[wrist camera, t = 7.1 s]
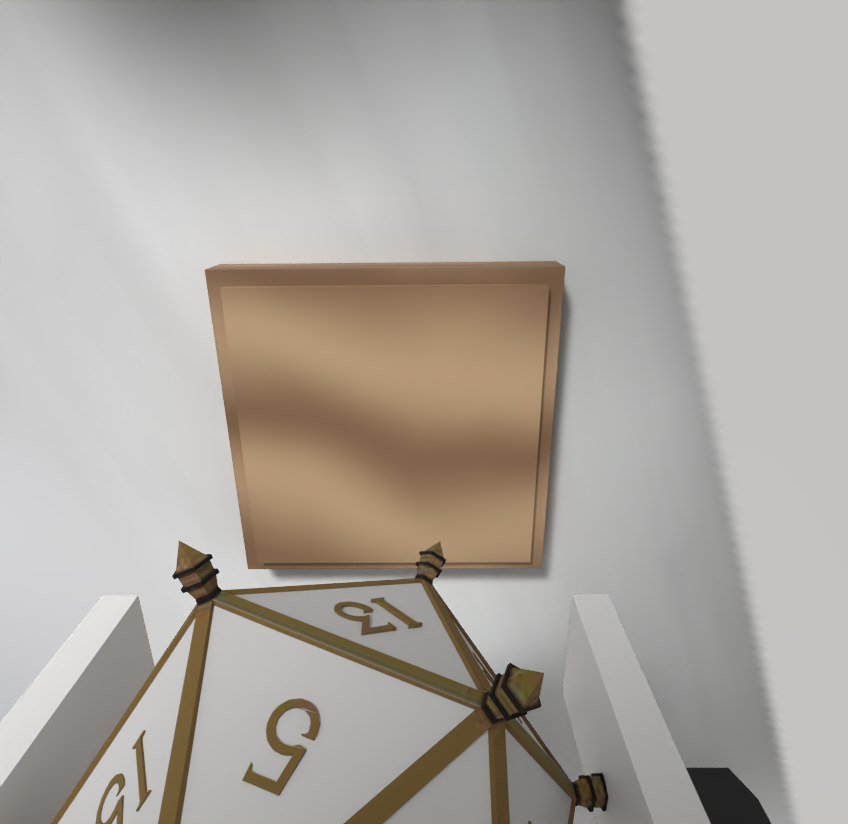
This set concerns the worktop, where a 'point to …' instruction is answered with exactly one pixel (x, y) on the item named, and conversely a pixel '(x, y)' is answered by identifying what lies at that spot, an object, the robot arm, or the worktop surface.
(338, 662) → the game die
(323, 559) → the plate
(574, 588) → the worktop surface
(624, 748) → the robot arm
